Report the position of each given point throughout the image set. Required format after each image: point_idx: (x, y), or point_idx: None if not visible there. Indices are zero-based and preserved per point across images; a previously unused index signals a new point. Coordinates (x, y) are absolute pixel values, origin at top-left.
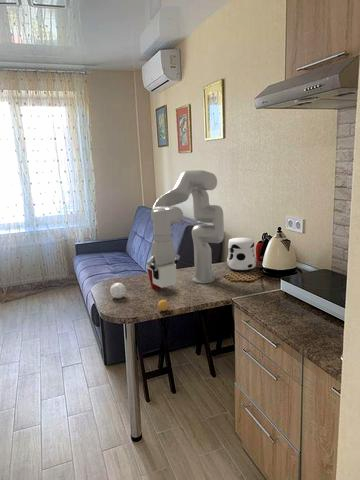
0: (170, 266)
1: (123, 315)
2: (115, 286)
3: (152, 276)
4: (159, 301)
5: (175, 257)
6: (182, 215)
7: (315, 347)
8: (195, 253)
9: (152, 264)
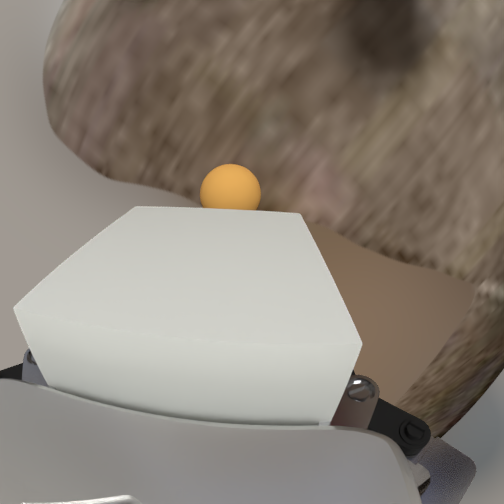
0: None
1: (73, 123)
2: None
3: (106, 229)
4: (212, 187)
5: (428, 473)
6: None
7: None
8: None
9: (22, 324)
